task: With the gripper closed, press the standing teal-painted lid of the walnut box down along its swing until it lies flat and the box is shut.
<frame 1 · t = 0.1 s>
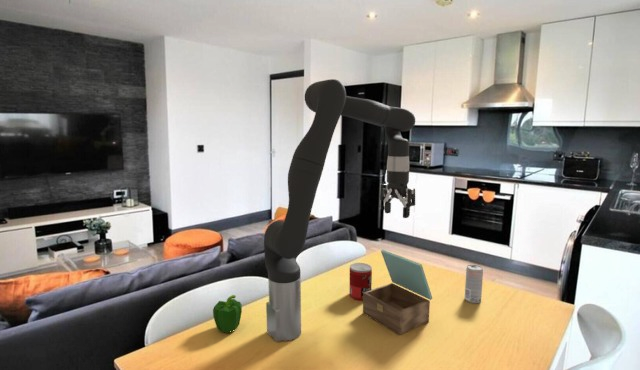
hand: (396, 215, 129), 29 cm above the table, fingers open, 8 cm apart
box: (395, 317, 117), on the table
lid: (405, 273, 117), point 14 cm above the table, hinge at 65.0°
bell pepper: (228, 329, 111), on the table
energy drink: (472, 300, 129), on the table
canned food: (360, 296, 132), on the table
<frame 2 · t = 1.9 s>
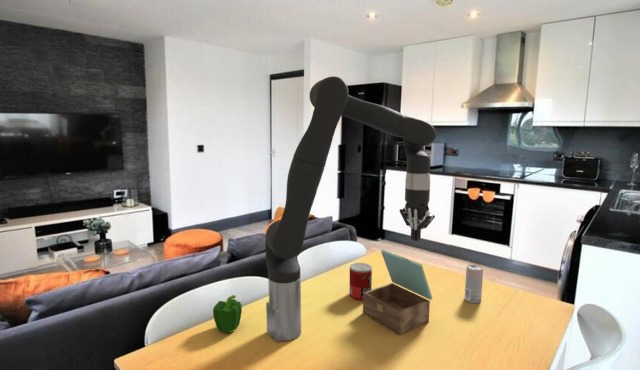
hand: (415, 240, 118), 24 cm above the table, fingers closed
nothing on the table moved.
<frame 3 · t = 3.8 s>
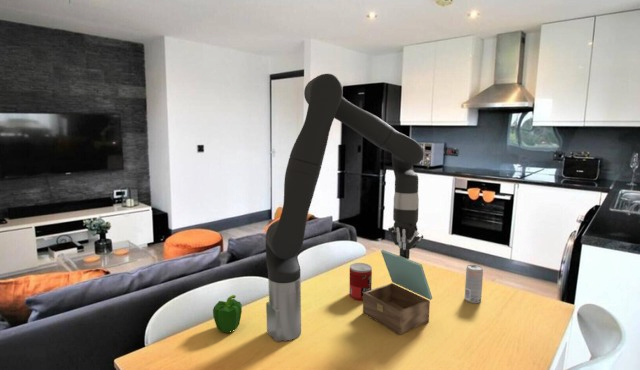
hand: (404, 259, 116), 18 cm above the table, fingers closed
lid: (405, 273, 117), point 14 cm above the table, hinge at 65.0°, touching gripper
everything else where it was.
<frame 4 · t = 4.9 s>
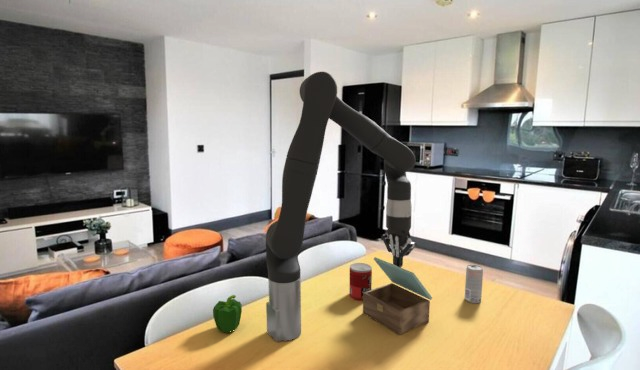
hand: (397, 267, 115), 17 cm above the table, fingers closed
lid: (402, 277, 116), point 13 cm above the table, hinge at 48.7°, touching gripper
everything else where it was.
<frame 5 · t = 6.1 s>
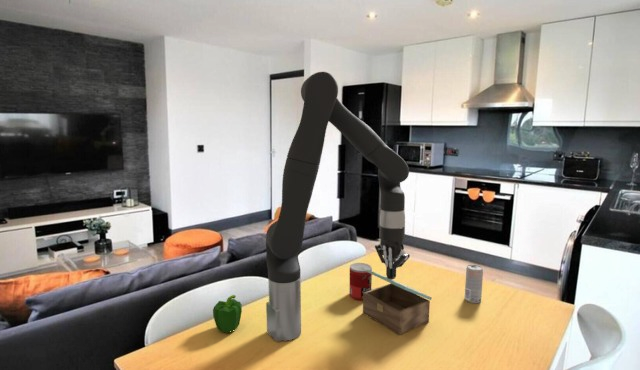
hand: (391, 278, 114), 14 cm above the table, fingers closed
lid: (398, 284, 116), point 11 cm above the table, hinge at 28.6°, touching gripper
everything else where it was.
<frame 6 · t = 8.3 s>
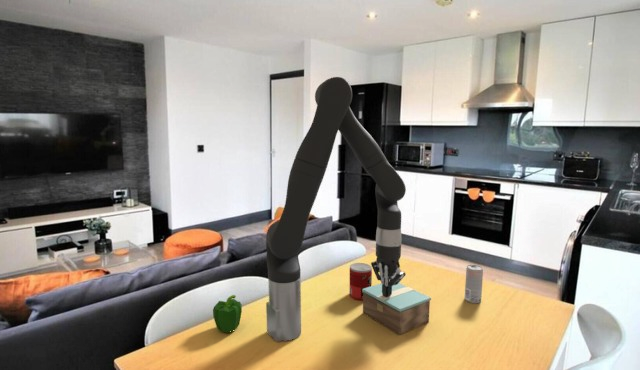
hand: (386, 295, 113), 8 cm above the table, fingers closed
lid: (395, 294, 116), point 8 cm above the table, hinge at 0.9°, touching gripper
everything else where it was.
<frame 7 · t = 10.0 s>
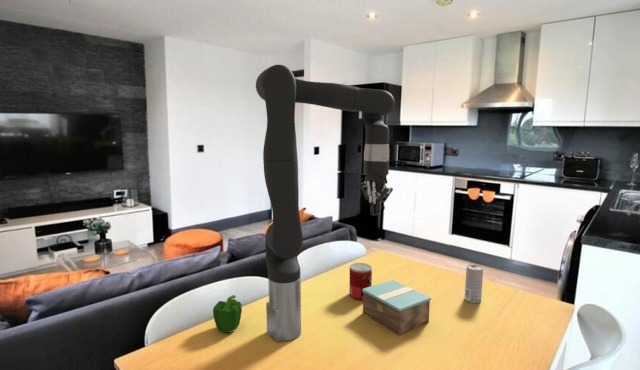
hand: (374, 214, 114), 33 cm above the table, fingers closed
lid: (395, 294, 116), point 8 cm above the table, hinge at 0.9°
everything else where it was.
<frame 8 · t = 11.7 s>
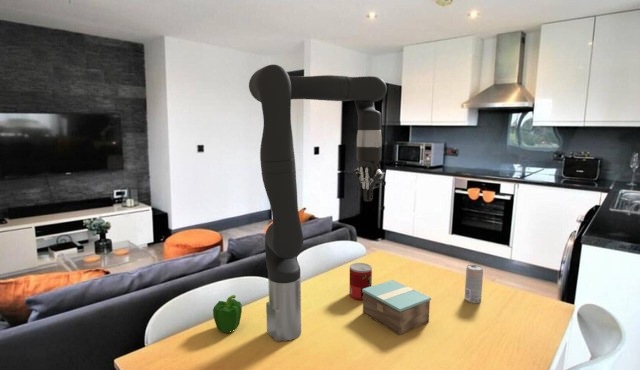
hand: (368, 200, 115), 37 cm above the table, fingers closed
nothing on the table moved.
at the end: lid at +1° (first picture: +65°) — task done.
